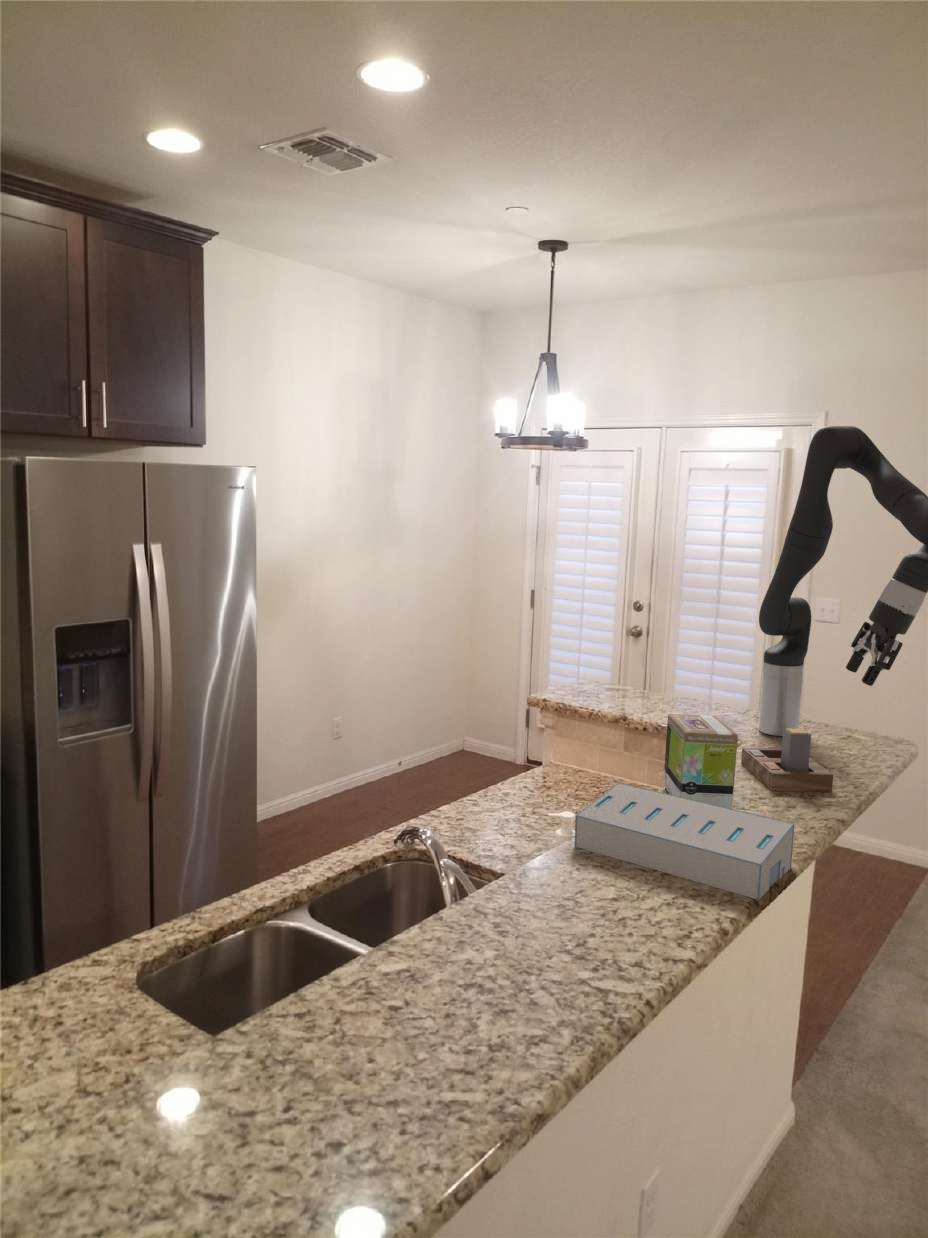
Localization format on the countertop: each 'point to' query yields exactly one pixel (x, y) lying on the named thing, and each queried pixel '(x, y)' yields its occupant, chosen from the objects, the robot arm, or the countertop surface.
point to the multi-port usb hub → (688, 838)
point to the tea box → (700, 759)
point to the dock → (785, 772)
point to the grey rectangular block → (795, 750)
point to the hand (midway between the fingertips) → (858, 677)
